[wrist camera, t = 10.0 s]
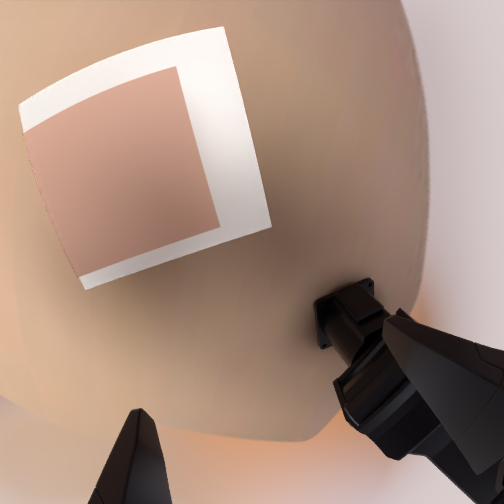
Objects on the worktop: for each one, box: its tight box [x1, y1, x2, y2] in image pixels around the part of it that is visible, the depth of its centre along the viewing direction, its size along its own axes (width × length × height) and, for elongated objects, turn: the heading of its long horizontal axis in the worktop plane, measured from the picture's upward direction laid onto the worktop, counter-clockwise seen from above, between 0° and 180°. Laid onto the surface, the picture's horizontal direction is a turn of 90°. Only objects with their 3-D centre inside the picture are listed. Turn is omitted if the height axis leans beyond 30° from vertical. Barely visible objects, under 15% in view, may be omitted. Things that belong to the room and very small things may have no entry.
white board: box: [18, 27, 272, 290], centre depth 16 cm, size 14×14×2 cm
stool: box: [23, 66, 220, 278], centre depth 12 cm, size 6×6×7 cm
